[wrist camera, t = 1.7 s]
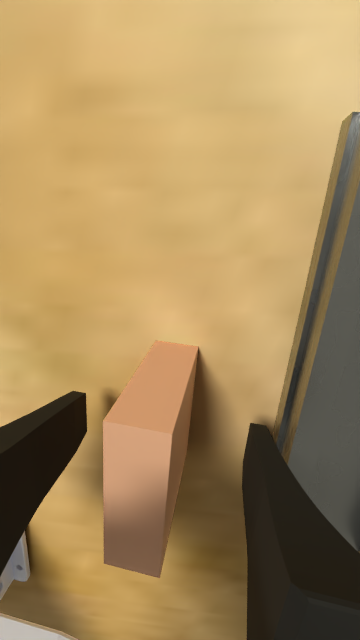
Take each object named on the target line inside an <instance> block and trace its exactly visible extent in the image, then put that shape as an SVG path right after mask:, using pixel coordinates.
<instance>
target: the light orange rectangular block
mask: <svg viewBox="0 0 360 640" xmlns="http://www.w3.org/2000/svg"><path fill="white" fill-rule="evenodd" d="M197 356H198V347H197V346H190V345H183V344H177V343H170V342H163V341H155V343H154V344H153V346H152V347H151V349H150V350H149V352H148V353H147V355H146V356H145V358H144V359H143V361H142V362H141V364H140V365H139V367H138V368H137V370H136V372H135V373H134V375H133V376H132V378H131V379H130V381H129V382H128V384H127V385H126V387H125V388H124V390H123V391H122V393H121V394H120V396H119V397H118V399H117V400H116V402H115V403H114V405H113V406H112V408H111V410H110V411H109V413H108V414H107V416H106V417H105V419H104V420H103V498H104V564H108V565H112V566H115V567H119V568H123V569H127V570H131V571H135V572H139V573H142V574H146V575H150V576H154V577H158V578H160V575H161V570H162V565H163V561H164V556H165V551H166V547H167V542H168V537H169V533H170V528H171V523H172V519H173V514H174V510H175V505H176V500H177V496H178V491H179V486H180V482H181V477H182V472H183V468H184V463H185V458H186V454H187V447H188V438H189V429H190V420H191V411H192V401H193V392H194V383H195V374H196V365H197Z"/></svg>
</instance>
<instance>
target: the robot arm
mask: <svg viewBox="0 0 360 640" xmlns="http://www.w3.org/2000/svg"><path fill="white" fill-rule="evenodd" d="M86 432H87V415H86V393H81V392H76V391H72V392H70V393H68V394H66V395H64V396H62V397H60V398H58V399H56V400H54V401H52V402H51V403H49V404H47V405H45V406H43V407H41V408H39V409H37V410H35V411H34V412H32V413H30V414H28V415H25V416H23V417H21V418H19V419H17V420H15V421H13V422H11V423H9V424H7V425H4V426H2V427H0V601H1V599H2V597H3V596H4V594H5V593H6V591H7V589H8V588H9V586H10V584H11V583H12V581H13V580H14V579H15V580H18V581H22V582H24V581H27V580H28V578H29V576H30V567H29V559H28V552H27V544H26V536H25V529H26V528H27V526H28V524H29V522H30V521H31V519H32V517H33V515H34V514H35V512H36V510H37V508H38V507H39V505H40V504H41V502H42V501H43V499H44V497H45V496H46V495H47V493H48V492H49V490H50V489H51V487H52V486H53V485H54V483H55V482H56V480H57V479H58V477H59V476H60V475H61V473H62V472H63V470H64V469H65V467H66V466H67V465H68V463H69V462H70V460H71V459H72V457H73V456H74V454H75V453H76V451H77V449H78V448H79V446H80V444H81V442H82V440H83V438H84V436H85V434H86ZM242 490H243V503H244V515H245V527H246V539H247V557H248V588H247V640H360V553H359V552H358V551H357V550H356V549H355V548H354V547H353V546H352V545H351V544H350V543H349V542H348V541H347V540H346V539H345V538H344V537H343V536H342V535H341V534H340V533H339V532H338V531H337V530H336V529H335V527H334V526H333V525H332V524H331V523H330V522H329V521H328V520H327V519H326V518H325V516H324V515H323V514H322V513H321V512H320V510H319V509H318V508H317V507H316V505H315V504H314V503H313V502H312V500H311V499H310V498H309V496H308V495H307V494H306V492H305V491H304V489H303V488H302V487H301V485H300V484H299V482H298V481H297V479H296V478H295V476H294V475H293V473H292V472H291V470H290V468H289V467H288V465H287V463H286V462H285V460H284V458H283V457H282V455H281V453H280V451H279V450H278V448H277V446H276V444H275V442H274V440H273V438H272V436H271V434H270V432H269V430H268V428H267V427H266V426H265V425H259V424H254V423H250V428H249V433H248V438H247V444H246V449H245V454H244V459H243V477H242ZM0 640H79V639H77V638H75V637H72V636H70V635H68V634H66V633H64V632H62V631H59V630H55V629H52V628H49V627H46V626H42V625H39V624H36V623H32V622H29V621H26V620H23V619H19V618H16V617H13V616H9V615H6V614H3V613H0Z"/></svg>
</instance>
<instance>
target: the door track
mask: <svg viewBox="0 0 360 640" xmlns="http://www.w3.org/2000/svg"><path fill="white" fill-rule="evenodd" d="M272 438H273V440H274V442H275V444H276V446H277V448H278V450H279V451H280V453H281V455H282V457H283V458H284V460H285V462H286V463H287V465H288V467H289V468H290V470H291V472H292V473H293V475H294V476H295V478H296V479H297V481H298V482H299V484H300V485H301V487H302V488H303V489H304V491H305V492H306V494H307V495H308V496H309V498H310V499H311V500H312V502H313V503H314V504H315V505H316V507H317V508H318V509H319V510H320V512H321V513H322V514H323V515H324V516H325V518H326V519H327V520H328V521H329V522H330V523H331V524H332V525H333V526H334V527H335V529H336V530H337V531H338V532H339V533H340V534H341V535H342V536H343V537H344V538H345V539H346V540H347V541H348V542H349V543H350V544H351V545H352V546H353V547H354V548H355V549H356V550H357V551H358V552H359V553H360V112H352V113H351V114H350V115H349V116H348V117H347V118H346V119H345V120H344V121H342V126H341V130H340V135H339V139H338V144H337V148H336V153H335V157H334V162H333V166H332V171H331V175H330V180H329V184H328V189H327V193H326V197H325V202H324V206H323V211H322V215H321V220H320V224H319V229H318V233H317V238H316V242H315V247H314V251H313V256H312V260H311V265H310V269H309V274H308V278H307V283H306V287H305V292H304V296H303V301H302V305H301V309H300V314H299V318H298V323H297V327H296V332H295V336H294V341H293V345H292V350H291V354H290V359H289V363H288V368H287V372H286V377H285V381H284V386H283V390H282V395H281V399H280V404H279V408H278V413H277V417H276V421H275V426H274V430H273V435H272Z"/></svg>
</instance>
